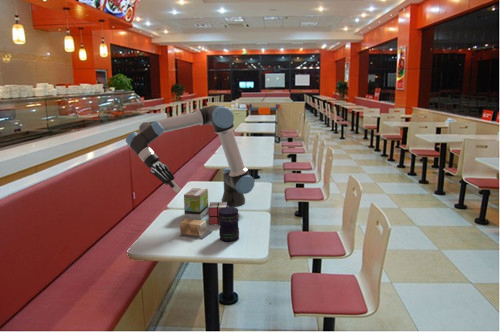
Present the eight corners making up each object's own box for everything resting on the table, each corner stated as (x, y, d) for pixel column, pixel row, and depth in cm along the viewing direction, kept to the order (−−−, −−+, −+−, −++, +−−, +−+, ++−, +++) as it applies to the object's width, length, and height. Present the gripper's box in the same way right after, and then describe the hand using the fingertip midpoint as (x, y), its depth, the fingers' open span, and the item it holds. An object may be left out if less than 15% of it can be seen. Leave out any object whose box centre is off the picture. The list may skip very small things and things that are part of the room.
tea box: (201, 220, 224) (199, 195, 220) (184, 219, 226) (182, 194, 222) (209, 211, 238) (207, 188, 235) (193, 210, 240) (191, 187, 237)
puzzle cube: (227, 224, 216) (226, 207, 214) (209, 225, 216) (208, 207, 214) (228, 218, 226) (227, 201, 224) (210, 218, 226) (210, 202, 224)
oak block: (179, 222, 203) (200, 225, 199) (185, 218, 209) (206, 221, 204) (180, 233, 204) (201, 236, 200) (186, 229, 210) (206, 232, 205)
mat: (179, 236, 202) (179, 235, 202) (190, 228, 212) (190, 227, 212) (202, 239, 197) (202, 238, 197) (212, 231, 207) (212, 230, 207)
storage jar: (215, 239, 197) (214, 210, 194) (229, 233, 204) (228, 205, 201) (229, 244, 191) (228, 215, 187) (243, 238, 198) (242, 209, 195)
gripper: (152, 159, 213) (181, 192, 210) (137, 164, 201) (167, 199, 198) (160, 150, 210) (189, 183, 207) (145, 155, 198) (176, 190, 195)
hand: (178, 191), depth 203 cm, fingers closed
